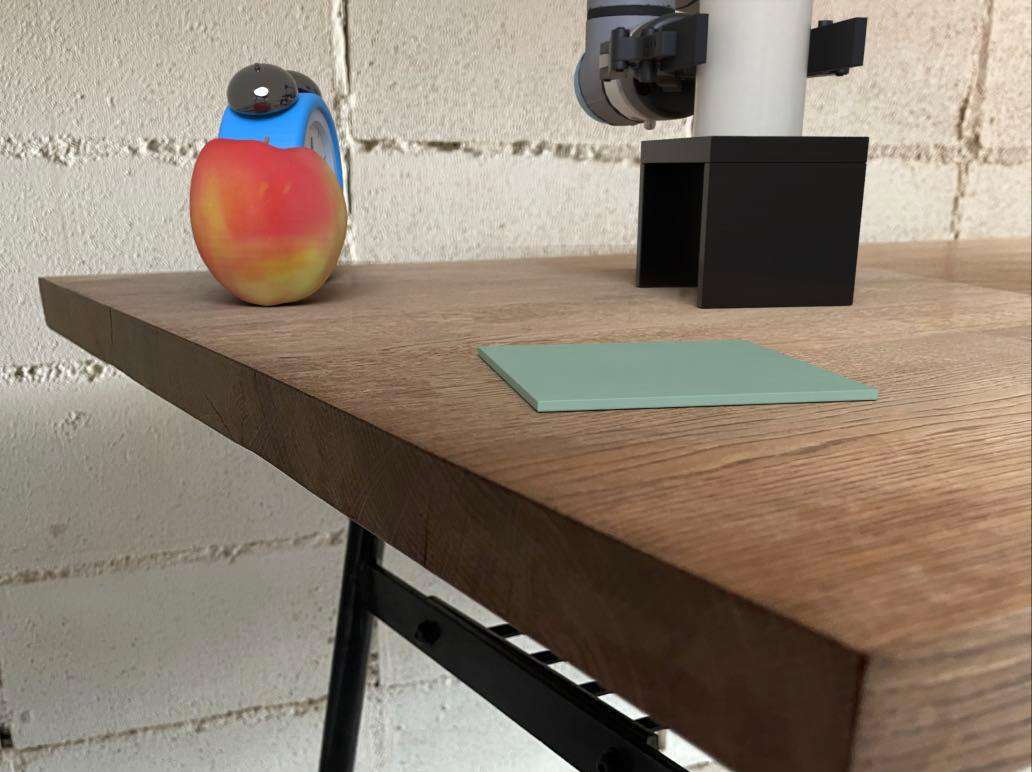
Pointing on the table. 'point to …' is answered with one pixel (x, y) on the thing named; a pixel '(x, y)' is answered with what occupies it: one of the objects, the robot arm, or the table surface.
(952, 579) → the table surface
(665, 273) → the shelf
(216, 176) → the apple
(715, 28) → the cup
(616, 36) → the robot arm
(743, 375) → the mat
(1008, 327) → the table surface
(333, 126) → the alarm clock
